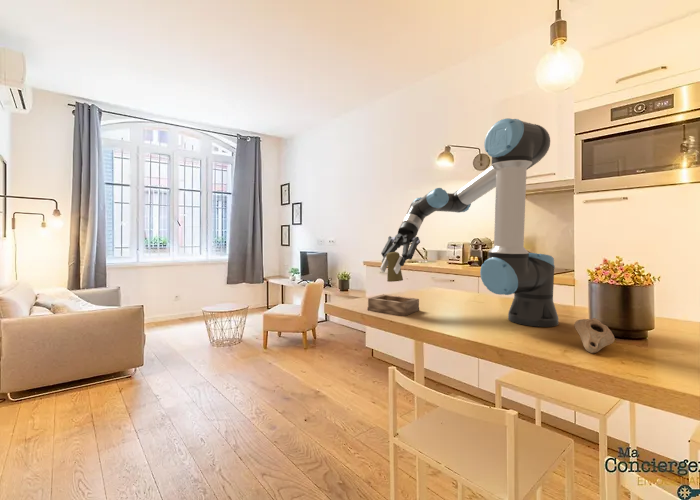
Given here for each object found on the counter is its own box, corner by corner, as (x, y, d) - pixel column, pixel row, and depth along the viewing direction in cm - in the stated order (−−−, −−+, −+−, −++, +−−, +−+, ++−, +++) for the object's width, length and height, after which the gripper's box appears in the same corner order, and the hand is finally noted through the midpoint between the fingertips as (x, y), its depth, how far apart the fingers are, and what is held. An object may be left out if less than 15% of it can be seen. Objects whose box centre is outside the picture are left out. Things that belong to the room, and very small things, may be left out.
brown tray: (419, 310, 136) (419, 298, 135) (404, 316, 126) (404, 303, 126) (383, 305, 145) (383, 294, 145) (367, 310, 136) (367, 298, 135)
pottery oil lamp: (568, 350, 90) (569, 323, 90) (576, 339, 99) (577, 315, 99) (610, 358, 84) (611, 329, 84) (615, 346, 93) (616, 320, 93)
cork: (392, 279, 138) (390, 252, 138) (406, 279, 135) (403, 251, 135) (384, 281, 134) (381, 253, 134) (397, 281, 130) (395, 251, 130)
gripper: (433, 234, 141) (413, 279, 129) (393, 234, 152) (372, 275, 140) (427, 220, 137) (407, 266, 124) (387, 221, 147) (364, 263, 135)
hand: (388, 270), depth 132 cm, fingers closed on cork, 5 cm apart
